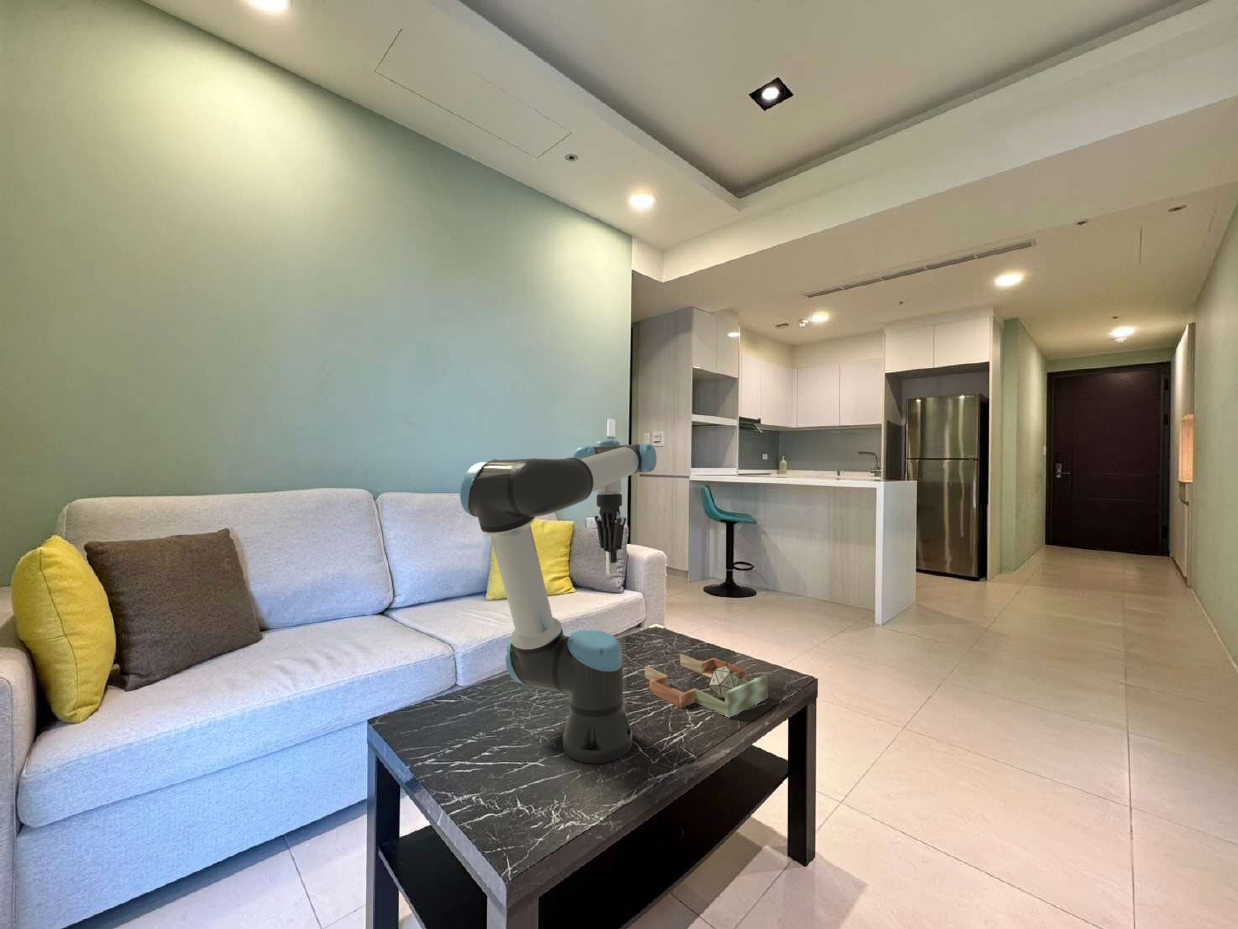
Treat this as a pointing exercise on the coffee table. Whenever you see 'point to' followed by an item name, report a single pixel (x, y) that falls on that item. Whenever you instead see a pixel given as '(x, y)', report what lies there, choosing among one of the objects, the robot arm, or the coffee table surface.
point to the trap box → (734, 698)
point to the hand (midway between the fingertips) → (611, 573)
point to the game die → (723, 680)
